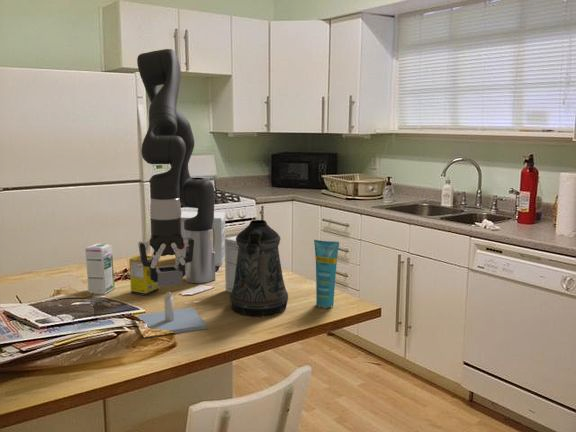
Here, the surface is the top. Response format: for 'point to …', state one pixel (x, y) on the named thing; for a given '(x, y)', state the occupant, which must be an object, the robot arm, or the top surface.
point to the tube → (325, 271)
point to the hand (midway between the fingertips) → (167, 279)
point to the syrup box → (100, 268)
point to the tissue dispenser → (168, 276)
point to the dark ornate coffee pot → (258, 273)
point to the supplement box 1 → (141, 277)
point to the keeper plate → (174, 318)
